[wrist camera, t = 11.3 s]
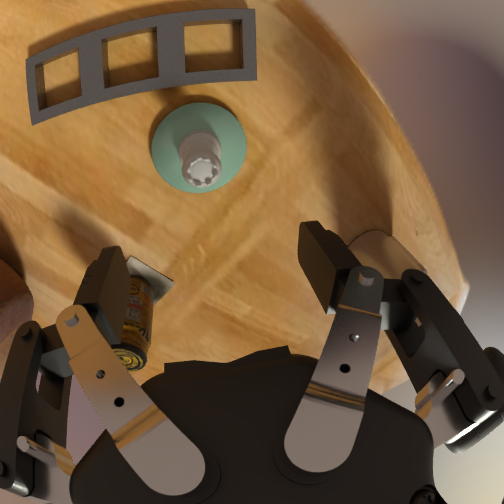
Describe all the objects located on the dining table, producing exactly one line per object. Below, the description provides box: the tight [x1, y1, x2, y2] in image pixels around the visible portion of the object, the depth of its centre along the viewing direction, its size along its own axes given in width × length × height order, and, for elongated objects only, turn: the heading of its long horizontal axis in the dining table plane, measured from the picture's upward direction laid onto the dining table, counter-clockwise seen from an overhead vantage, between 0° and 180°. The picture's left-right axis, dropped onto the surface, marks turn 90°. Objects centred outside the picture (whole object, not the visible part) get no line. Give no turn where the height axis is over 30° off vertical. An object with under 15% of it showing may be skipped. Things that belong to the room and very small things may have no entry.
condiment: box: [111, 256, 175, 371], centre depth 31 cm, size 7×8×12 cm
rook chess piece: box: [178, 130, 222, 188], centre depth 24 cm, size 4×4×8 cm
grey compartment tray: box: [26, 9, 257, 126], centre depth 19 cm, size 24×8×2 cm, turn 91°
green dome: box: [151, 102, 246, 193], centre depth 27 cm, size 10×10×1 cm
